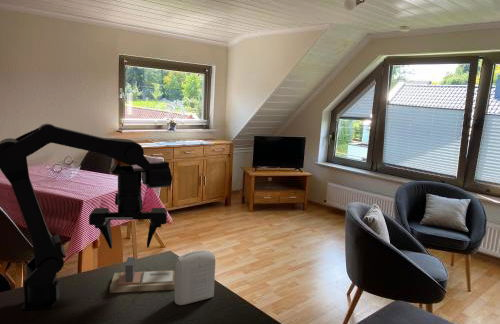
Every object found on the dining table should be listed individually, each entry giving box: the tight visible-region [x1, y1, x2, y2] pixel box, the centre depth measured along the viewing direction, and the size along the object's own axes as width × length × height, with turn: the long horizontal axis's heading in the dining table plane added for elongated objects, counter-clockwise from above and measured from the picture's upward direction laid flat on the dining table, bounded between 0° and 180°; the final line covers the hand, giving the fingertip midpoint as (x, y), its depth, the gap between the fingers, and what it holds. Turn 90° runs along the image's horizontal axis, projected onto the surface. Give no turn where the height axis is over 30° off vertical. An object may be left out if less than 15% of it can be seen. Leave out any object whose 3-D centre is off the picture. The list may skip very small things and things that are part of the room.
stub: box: [118, 256, 142, 285], centre depth 100 cm, size 5×6×5 cm
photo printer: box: [174, 250, 216, 306], centre depth 94 cm, size 10×4×12 cm, turn 123°
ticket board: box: [109, 269, 175, 294], centre depth 101 cm, size 16×8×2 cm, turn 101°
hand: (129, 247), depth 99 cm, fingers open, 9 cm apart
